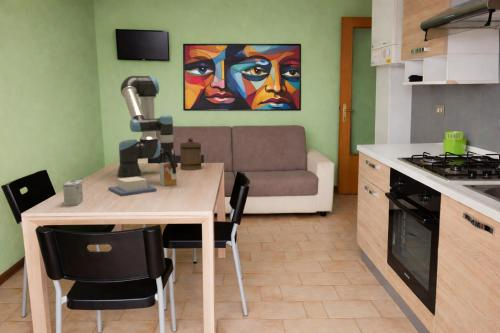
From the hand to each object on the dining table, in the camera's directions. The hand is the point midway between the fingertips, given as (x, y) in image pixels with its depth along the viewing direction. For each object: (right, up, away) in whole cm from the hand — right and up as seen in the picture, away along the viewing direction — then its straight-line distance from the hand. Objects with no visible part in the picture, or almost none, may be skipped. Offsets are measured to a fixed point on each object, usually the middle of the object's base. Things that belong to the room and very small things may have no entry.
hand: (168, 177), depth 282 cm
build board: (-18, -7, -16) cm, 24 cm away
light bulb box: (-40, -12, -44) cm, 60 cm away
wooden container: (+6, +5, +59) cm, 59 cm away
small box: (0, -4, +1) cm, 4 cm away
